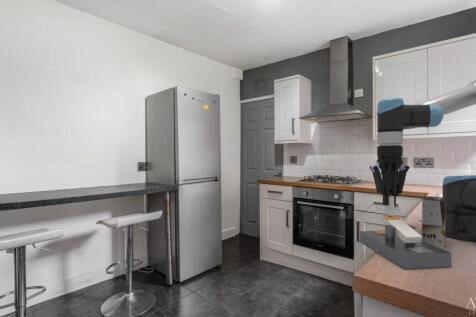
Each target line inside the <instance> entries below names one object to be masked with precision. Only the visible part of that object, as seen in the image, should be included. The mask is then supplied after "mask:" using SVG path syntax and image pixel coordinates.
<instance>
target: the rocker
mask: <svg viewBox="0 0 476 317" xmlns="http://www.w3.org/2000/svg"><path fill="white" fill-rule="evenodd" d="M380 222H381V223H382V224H383V225H384V226H385V225H390V226H393V227H395V234H396V235H397V236H398V237H399V238H400V239H401V240H402V241H403V242H405V243H417V242H421V240H422V234H420V233H419V232H418V231H417V230H416V229H415V230H413V229H412V228H411V227H410V226H408V225H407V224H408V223H406V222H404V221H403V219H401V217H399V216H398V215H396V214H394V216H389V215H386V214H384V215H381V218H380Z"/></svg>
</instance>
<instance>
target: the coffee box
mask: <svg viewBox="0 0 476 317" xmlns="http://www.w3.org/2000/svg"><path fill="white" fill-rule="evenodd" d="M421 200H422V201H421V204H422V205H421V236H422V240H423V241H425V242H428V243H430V244H433V245H435V246H438V247H440V248H442V249H445V244H446V236H445V209H446V204H445V198H444V197H443V196H429V195H427V196H426V195H425V196H423V197H422V199H421Z"/></svg>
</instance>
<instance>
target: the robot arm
mask: <svg viewBox="0 0 476 317" xmlns="http://www.w3.org/2000/svg"><path fill="white" fill-rule="evenodd" d="M474 105H476V79H475V80H473V81H471V82H469V83H468V84H467V85H465V86H463V87H460V88H457V89H454V90H452V91H448V92H446V93H443V94H440V95H437V96H434V97H431V98H429V99H425V100H424V101H421V102H418V103H415V104H405V102H404V99H403V98H402V97H388V98H384V99H381V100H379V101H378V102H377V111H376V117H377V118H376V119H377V122H376V123H377V124H376V125H377V127H376V128H377V129H376V130H377V131H376V132H377V134H376V135H377V136H376V141H377V142H376V143H377V146H376V155H377V156H376V157H377V160H376V162H375V164H374V165H370V166H369V169H370V171H371V172H372V176H373V180H374V184H375V185H374V186H375V190H376V193H377V194H379V195H380V196H381V195H382V205H383V206H384V210H383V211H384V215H389V216H394V215H395V206H396V205H397V197H398V196H399V195H402V193H403V190H404V185H405V181H406V177H407V173H408V172H409V170H410V166H409V165H406V164H405V163H404V161H403V159H402V157H403V156H404V147H403V143H404V130H411V129H418V128H427V129H428V128H436V127H438V126H439V125H440V124H441V123H442V121H443V119H444V116H445V115H448V114H452V113H454V112H457V111H460V110H462V109H466V108H469V107H471V106H474ZM441 187H442V189H441V190H442V197H444V198H445V204H446V209H445V237H448V238H452V239H456V240H461V241H469V242H476V174H475V175H472V174H471V175H465V174H464V175H447V176H445V177H443V179H442V185H441Z"/></svg>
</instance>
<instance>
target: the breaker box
mask: <svg viewBox="0 0 476 317" xmlns="http://www.w3.org/2000/svg"><path fill="white" fill-rule="evenodd" d="M406 224H407V225H408V226H410V227H411V228H412V229H413V230H415V231H416V225H413V224H409V223H406ZM384 227H385V228H384V229H383V230H378V229H377V230H362V231H361V230H360V231H359V243H360V244H362V245H364V246H366V248H368V249H370V250H371V251H374V252H375V253H376V254H378V255H380V256H381V257H384V258H385V259H386V260H388V261H390V262H391V263H393V264H395V265H396V266H398V267H399V268H401V269H403V270H419V269H422V270H423V269H435V268H437V269H441V268H452V252H450V251H446V250H447V249H445V248H442V249H441V248H439V247H436V246H434V245H432V244H429V243H427V242H424V241H422V240H421V242H417V243H405V242H403V241H402V240H401V239H400V238H399V237H398V236H397V235H396V234H395V227H393V226H390V225H385V224H384ZM444 249H445V250H444ZM376 250H377V251H376Z"/></svg>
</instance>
